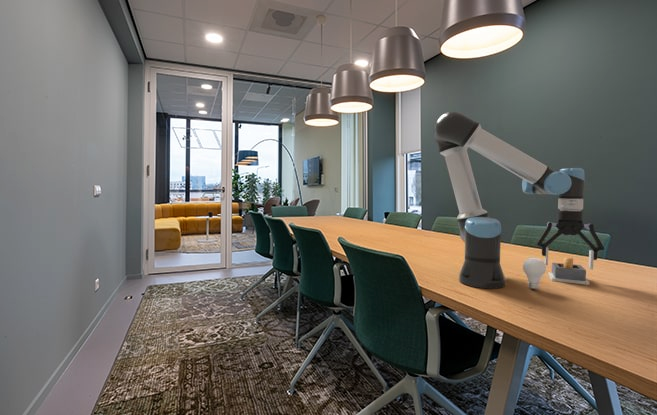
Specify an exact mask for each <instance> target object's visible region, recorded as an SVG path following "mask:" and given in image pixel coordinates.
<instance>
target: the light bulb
mask: <svg viewBox="0 0 657 415" xmlns="http://www.w3.org/2000/svg"><path fill="white" fill-rule="evenodd" d="M522 270H523V272H524V273H525V275H526V277H527V283H528V288H530V289H531V290H533V291H535V290H538V289H539V288H540V287H539V286H540V285H539V284H540V283H541V278H542V277H543V276H544V274H545V273H546V270H547V265H545V261H543V260H542V259H541V258H539V257H528V258H526V259H524V261H523V264H522Z"/></svg>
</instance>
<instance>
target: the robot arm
mask: <svg viewBox="0 0 657 415" xmlns="http://www.w3.org/2000/svg"><path fill="white" fill-rule="evenodd" d="M433 137H434V140H435V143H436V144H437V148H438V153H439V154H440V155H441V156H443V157H444V159H445V163H446V168H447V171H448V174H449V178H450V182H451V186H452V190H453V193H454V196H455V202H456V205H457V208H458V212H459V213H458V215H457V217H456V220H457V225H458V228H459V237H460V238H461V240H462V241H463V243H464V262H463V264H462V266H461V269H460V272H459V275H458V276H459V278H458V280H459V282H460V283H461V284H463V285H466V286H469V287H475V288H481V289H501V288H504V287H505V286H506V276H505V275H504V274H505V273H504V272H503V268H502V265H501V245H502V244H501V241H502V239H501V238H502V236H501V235H502V224H501V222H500V220H498V219H497V218H493V217H492V218H491V217H490V216H489V213H488V211H487V210H486V209H484V208H483V207H482V203H481V198H480V196H479V192H478V188H477V187H478V186H477V184H476V179H475V176H474V173H473V169H472V168H473V167H472V164H471V162H470V158H469V157H470V156H469V153H468V149H471V150H473V151H474V152H476V153H478V154H480V155H481V156H483V157H484V158H486V159H488V160H490V161H491V162H493V163H495V164H496V165H498V166H499V167H502V168H503V169H505V170H506V171H508V172H510V173H512V174H514V175H515V176H517V177H518V178H520V179H522V180H521V181H522V182H521V188H522V189H521V190H522V192H523V193H524V194H525V195H551V196H557V195H558V199H557V200H558V202H557V204H558V205H557V209H558V211H557V220H556V222H551V221H548V222H547V225H546V227H545V229H544V231H543V232H542V234H541V235H540V237H539V238H538V240H536V245H537V247H541V256H542V257H544V263H545V266H548V265H549V247H548V246H549V245H550V244H552V242H554V241H555V240H556V239H557V238H558V237H559V236H561V235H564V236H577V235H578V237H580V238H581V239H582V241H583V242H584V243H585V244H586V245H587V246H588V247H589V248H590V249H589V250H588V251H589V252H588V268H589V269H590V270H594V261H598V260H597V259H598V252H599V251H604V250H605V247H604V245H603V244H602V242H601V240H600V238H599V236H598V235H597V232H596V230H595V226H594V224H593V223H587V224H586V223H585V224H584V222H583V218H584V217H583V216H584V212H583V211H582V210H583V209H584V194H585V193H584V192H585V182H586V180H585V179H586V178H585V170H584V169H583V168H580V167H572V168H571V167H570V168H561V169H559V170H558V171H556V170H554V169H553V168H551V167H549V166H547V165H546V164H544V163H542V162H540V161H538V159H535V158H533V157H532V156H530V155H528V154H526V153H525V152H523V151H521V149H518V148H517V147H514V146H513V145H511V144H509V143H508V142H505V140H502V139H500V138H499V137H497V136H495V135H493V134H491V133H490V132H488V131H487V130H484V129H483V128H482V125H481V124H480V123H479V122H477V121H475V120H473V119H472V118H470V116H467V115H466V114H464V113H461V112H459V111H453V110H452V111H447V112H445V113H443V114H442V115H440V116H439V117H438V119H437V120H436V123H435V126H434V130H433ZM554 227H555V228H557V229H558V230H557V231H555V233H553V234H552V235H551V236H550V237H549V238H548V239H547V240H545V239H546V237H548V235H549V233H550V231H551V230H552V229H554ZM584 228H585V230H587V231H588V233H589V234H590V236H591V238H592V239H593V241H594V243H595V245H596V246H595V245H594V244H593V243H592V241H590V240H589V239H588V237H586V236H585V234H584V233H583V232H582V231H583V229H584Z"/></svg>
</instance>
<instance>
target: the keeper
mask: <svg viewBox="0 0 657 415" xmlns="http://www.w3.org/2000/svg"><path fill="white" fill-rule="evenodd" d="M563 264H564V267H565V268H573V264H574V258H573V257H563ZM548 277H550V279H551V281H553V282H559V283H569V284H570V283H571V284H578V285H579V284H581V285H590V281H589V280H588V278H586V281H578V280H569V279H559V278H555V277H554V275H553V274H552V271H551V272H550V271H548Z"/></svg>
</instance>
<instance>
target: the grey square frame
mask: <svg viewBox="0 0 657 415" xmlns="http://www.w3.org/2000/svg"><path fill="white" fill-rule="evenodd" d="M551 272H552V274H553V275H554V277H555V278H559V279H569V280H578V281H586V279H587V269H586V268H584V267H583V266H582V265H581V264H574V263H573V268H565V267H564V262H563V263H561V262H560V263H559V262H552V263H551Z"/></svg>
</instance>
